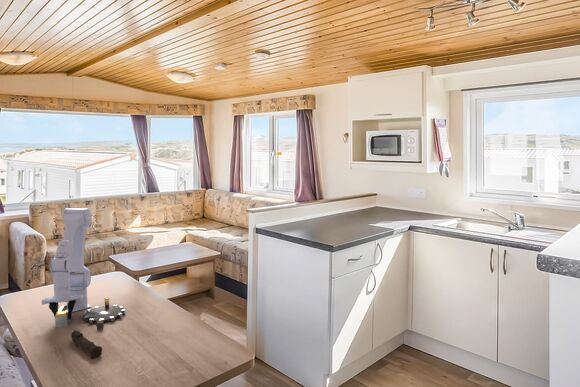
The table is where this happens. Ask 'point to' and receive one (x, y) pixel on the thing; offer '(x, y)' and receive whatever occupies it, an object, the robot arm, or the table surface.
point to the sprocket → (103, 313)
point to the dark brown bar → (86, 344)
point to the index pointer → (100, 324)
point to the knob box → (62, 317)
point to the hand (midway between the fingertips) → (63, 319)
